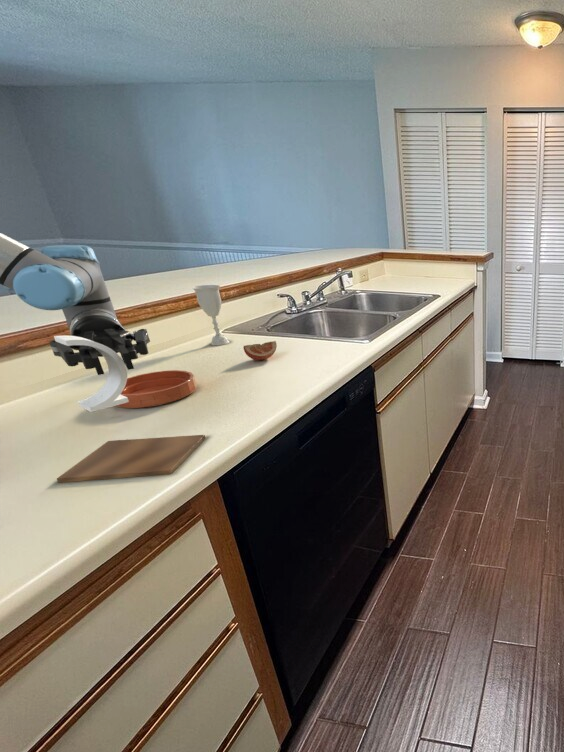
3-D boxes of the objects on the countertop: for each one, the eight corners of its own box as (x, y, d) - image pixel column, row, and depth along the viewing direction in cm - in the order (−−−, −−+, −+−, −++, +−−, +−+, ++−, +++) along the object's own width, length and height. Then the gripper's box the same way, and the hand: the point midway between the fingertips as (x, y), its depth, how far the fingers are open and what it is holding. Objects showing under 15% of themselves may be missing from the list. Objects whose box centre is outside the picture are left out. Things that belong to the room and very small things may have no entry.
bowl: (96, 412, 90) (90, 397, 88) (140, 385, 103) (135, 371, 102) (176, 407, 92) (171, 393, 91) (208, 381, 106) (205, 368, 105)
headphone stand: (79, 406, 70) (53, 336, 66) (123, 394, 75) (102, 328, 71) (91, 412, 68) (65, 340, 64) (136, 400, 73) (115, 332, 69)
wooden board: (58, 482, 67) (56, 478, 67) (109, 444, 78) (108, 440, 78) (171, 473, 70) (170, 469, 69) (205, 438, 81) (204, 434, 80)
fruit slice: (275, 353, 127) (272, 338, 125) (282, 359, 123) (279, 343, 121) (244, 359, 122) (240, 343, 120) (250, 365, 117) (246, 348, 116)
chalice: (201, 345, 134) (186, 288, 127) (218, 339, 140) (204, 284, 133) (222, 346, 133) (207, 289, 126) (238, 340, 139) (225, 285, 132)
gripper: (156, 344, 88) (181, 373, 73) (47, 361, 77) (50, 399, 63) (145, 308, 85) (169, 332, 71) (30, 321, 75) (30, 351, 60)
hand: (113, 363), depth 67 cm, fingers closed on headphone stand, 3 cm apart
